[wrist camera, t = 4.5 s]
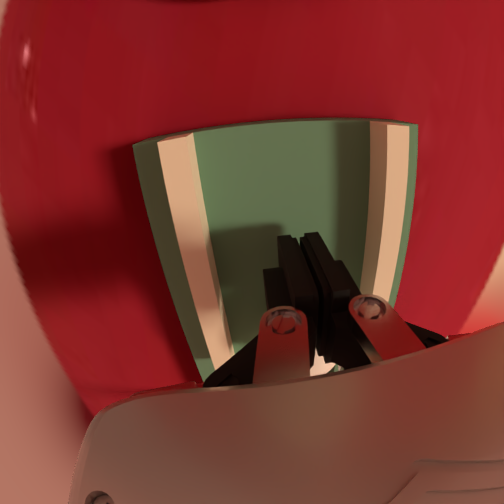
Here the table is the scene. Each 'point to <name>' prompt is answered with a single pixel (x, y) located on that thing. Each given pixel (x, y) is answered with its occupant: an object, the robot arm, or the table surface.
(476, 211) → the table surface
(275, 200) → the mat
